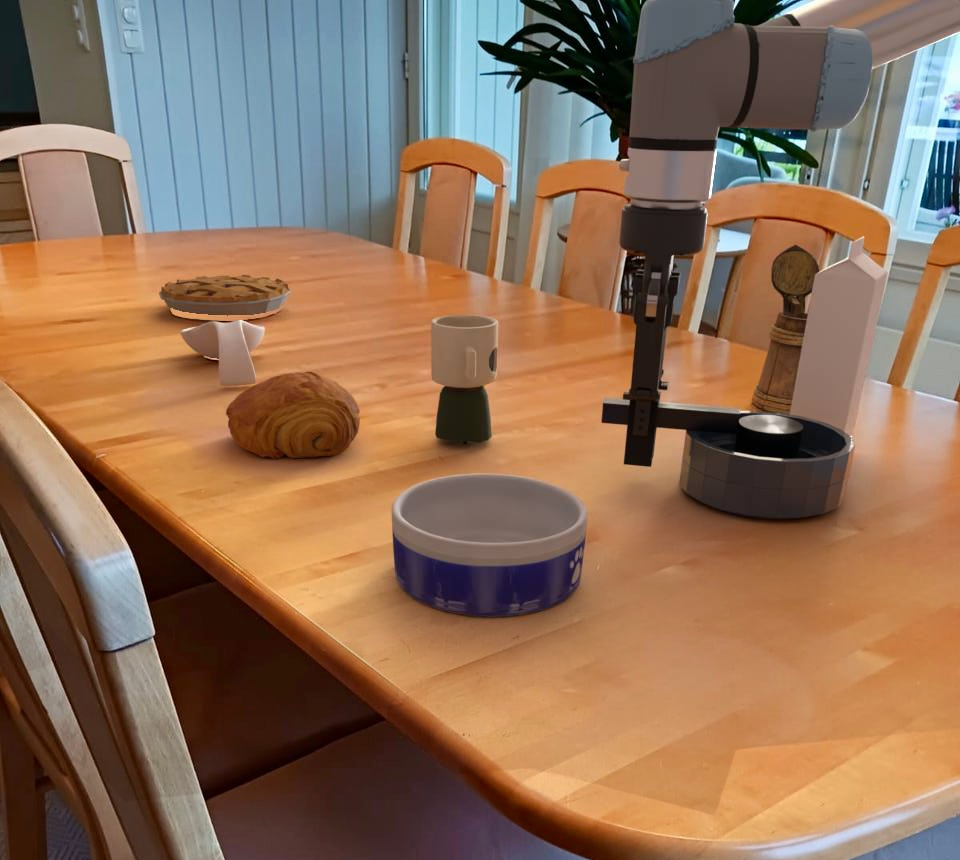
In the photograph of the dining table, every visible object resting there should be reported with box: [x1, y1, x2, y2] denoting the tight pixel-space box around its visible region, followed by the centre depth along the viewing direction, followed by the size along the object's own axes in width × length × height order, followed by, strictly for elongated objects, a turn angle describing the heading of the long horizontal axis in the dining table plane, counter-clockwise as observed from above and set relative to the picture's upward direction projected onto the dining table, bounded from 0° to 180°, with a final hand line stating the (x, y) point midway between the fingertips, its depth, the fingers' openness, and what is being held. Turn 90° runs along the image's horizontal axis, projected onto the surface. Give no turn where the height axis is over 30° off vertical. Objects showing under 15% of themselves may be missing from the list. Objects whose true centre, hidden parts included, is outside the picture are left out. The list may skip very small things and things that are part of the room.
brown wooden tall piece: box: [751, 244, 820, 415], centre depth 121 cm, size 9×14×18 cm, turn 178°
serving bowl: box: [678, 410, 856, 520], centre depth 94 cm, size 16×16×6 cm
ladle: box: [600, 397, 803, 459], centre depth 95 cm, size 19×6×6 cm, turn 77°
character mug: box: [430, 314, 499, 446], centre depth 105 cm, size 11×7×13 cm, turn 9°
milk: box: [790, 236, 889, 438], centre depth 102 cm, size 6×6×22 cm
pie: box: [158, 274, 292, 316], centre depth 167 cm, size 22×22×5 cm
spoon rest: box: [179, 320, 266, 387], centre depth 134 cm, size 24×12×7 cm, turn 19°
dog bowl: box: [391, 473, 588, 618], centre depth 77 cm, size 15×15×6 cm
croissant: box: [225, 371, 361, 460], centre depth 106 cm, size 14×16×8 cm
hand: (638, 459), depth 97 cm, fingers closed on ladle, 2 cm apart
